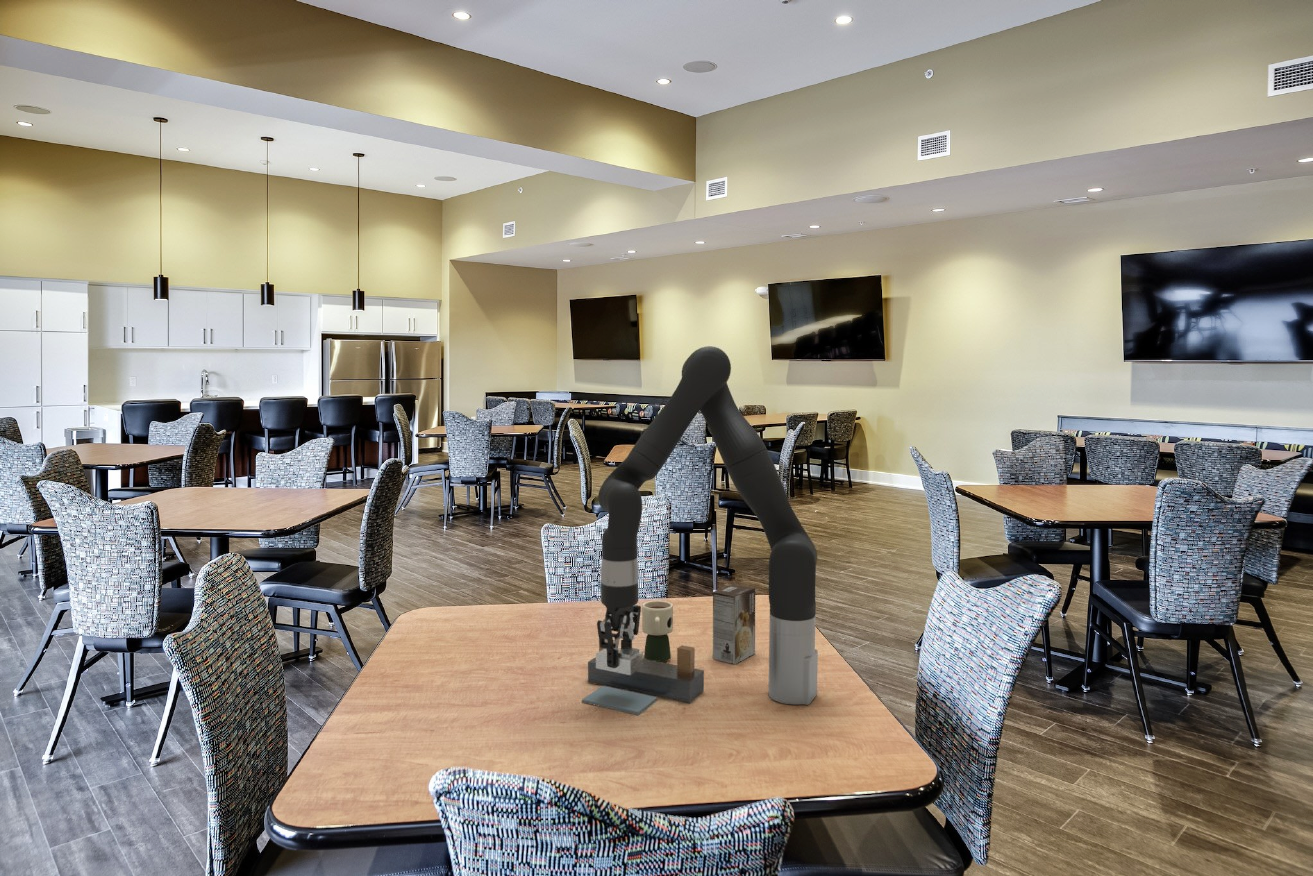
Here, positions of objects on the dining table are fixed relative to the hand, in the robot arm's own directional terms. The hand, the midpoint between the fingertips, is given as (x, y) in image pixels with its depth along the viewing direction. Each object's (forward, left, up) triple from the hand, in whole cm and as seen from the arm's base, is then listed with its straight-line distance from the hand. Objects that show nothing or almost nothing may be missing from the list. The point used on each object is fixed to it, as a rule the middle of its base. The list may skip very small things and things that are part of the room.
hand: (619, 662), depth 162 cm
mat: (0, 0, -8) cm, 8 cm away
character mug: (+4, -24, -8) cm, 26 cm away
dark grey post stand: (-1, -9, -8) cm, 12 cm away
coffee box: (-11, -34, -8) cm, 37 cm away
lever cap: (0, 0, -1) cm, 1 cm away
